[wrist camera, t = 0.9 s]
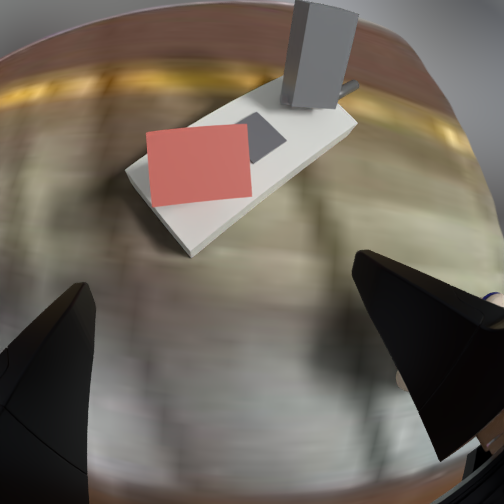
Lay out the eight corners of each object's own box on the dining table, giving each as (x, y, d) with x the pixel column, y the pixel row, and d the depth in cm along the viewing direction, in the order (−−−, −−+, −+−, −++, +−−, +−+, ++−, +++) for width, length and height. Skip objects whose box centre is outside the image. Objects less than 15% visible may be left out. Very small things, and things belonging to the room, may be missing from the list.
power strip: (191, 258, 22) (190, 250, 19) (131, 183, 22) (124, 168, 20) (375, 115, 28) (387, 101, 26) (325, 68, 29) (333, 53, 26)
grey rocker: (338, 114, 23) (363, 15, 15) (286, 111, 22) (304, 2, 14) (324, 99, 24) (344, 9, 17) (275, 97, 24) (290, -2, 16)
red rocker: (228, 190, 21) (261, 196, 12) (161, 197, 20) (142, 208, 11) (225, 149, 20) (256, 123, 11) (158, 155, 19) (136, 133, 10)
